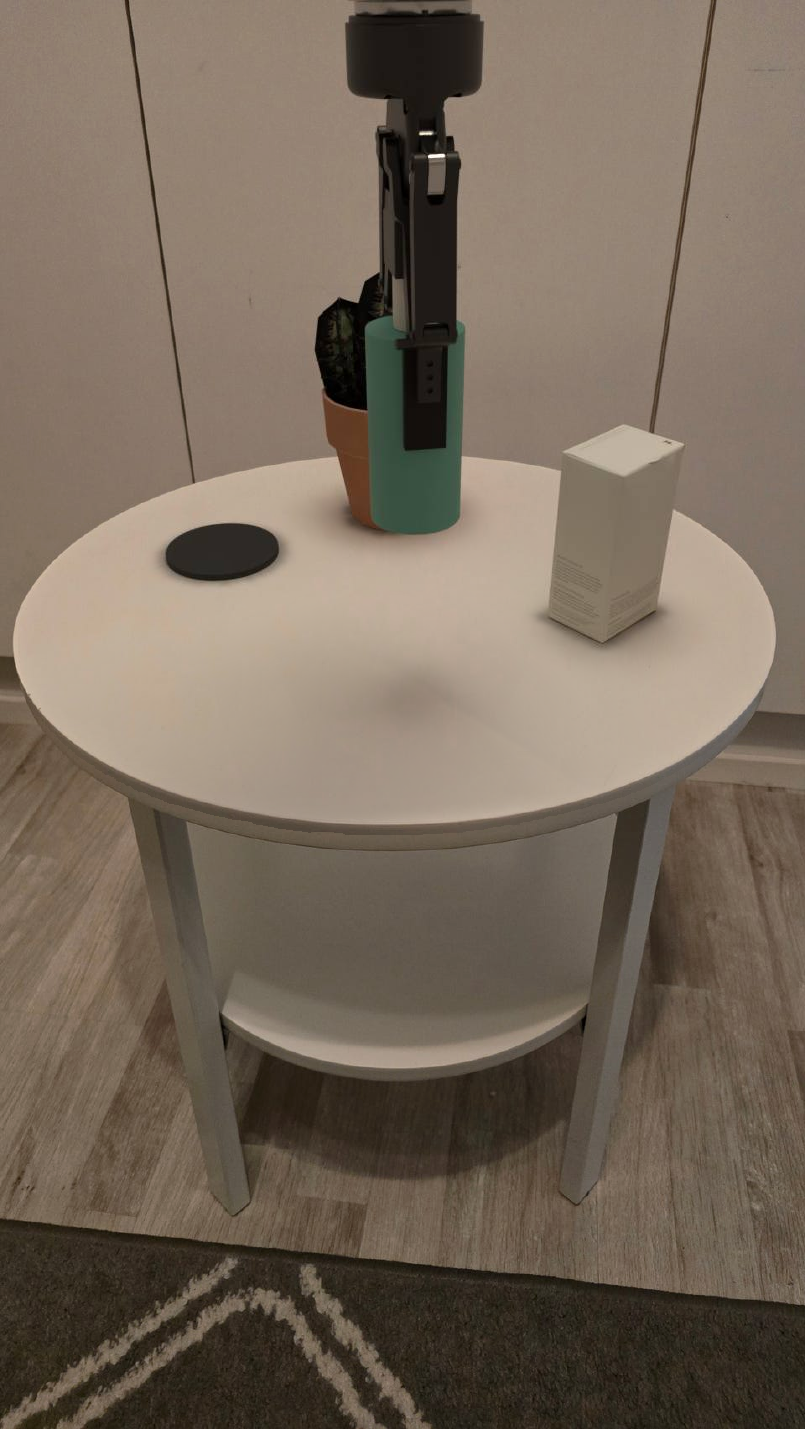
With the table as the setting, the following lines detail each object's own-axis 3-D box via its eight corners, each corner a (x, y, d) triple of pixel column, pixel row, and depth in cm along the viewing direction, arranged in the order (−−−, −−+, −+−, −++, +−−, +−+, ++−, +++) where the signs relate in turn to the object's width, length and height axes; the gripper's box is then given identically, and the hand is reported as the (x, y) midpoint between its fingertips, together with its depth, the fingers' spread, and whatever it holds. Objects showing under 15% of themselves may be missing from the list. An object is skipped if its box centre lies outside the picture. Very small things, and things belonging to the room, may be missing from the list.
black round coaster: (164, 585, 92) (163, 579, 92) (167, 532, 101) (166, 527, 100) (282, 574, 93) (281, 569, 93) (275, 524, 102) (274, 518, 102)
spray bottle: (468, 531, 68) (480, 197, 56) (377, 538, 68) (368, 201, 55) (447, 487, 74) (453, 177, 62) (363, 494, 73) (352, 180, 61)
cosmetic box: (603, 585, 91) (623, 421, 82) (662, 612, 87) (691, 442, 78) (543, 618, 87) (558, 447, 77) (603, 647, 83) (626, 472, 73)
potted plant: (432, 478, 111) (434, 237, 96) (477, 530, 100) (487, 267, 85) (315, 496, 108) (298, 248, 93) (348, 550, 97) (335, 281, 82)
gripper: (530, 12, 46) (504, 481, 59) (446, 4, 61) (441, 378, 75) (370, 14, 45) (381, 490, 58) (326, 6, 60) (343, 384, 74)
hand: (415, 427), depth 67 cm, fingers closed on spray bottle, 6 cm apart
